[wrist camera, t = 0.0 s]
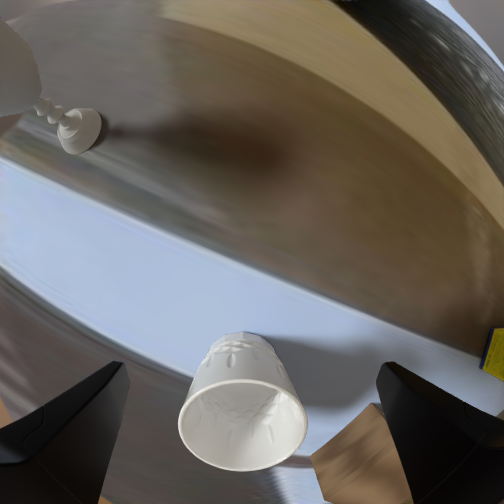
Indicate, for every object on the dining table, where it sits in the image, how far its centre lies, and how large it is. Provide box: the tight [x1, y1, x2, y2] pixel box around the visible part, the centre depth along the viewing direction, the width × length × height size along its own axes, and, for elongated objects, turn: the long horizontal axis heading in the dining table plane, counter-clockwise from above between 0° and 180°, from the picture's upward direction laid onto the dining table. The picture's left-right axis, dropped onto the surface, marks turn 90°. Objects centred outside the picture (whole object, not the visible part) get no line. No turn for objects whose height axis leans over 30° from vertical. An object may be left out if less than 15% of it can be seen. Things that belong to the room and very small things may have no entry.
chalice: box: [0, 18, 102, 154], centre depth 13 cm, size 7×7×18 cm
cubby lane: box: [310, 403, 412, 504], centre depth 22 cm, size 9×12×7 cm
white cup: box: [178, 332, 308, 471], centre depth 19 cm, size 8×8×10 cm
